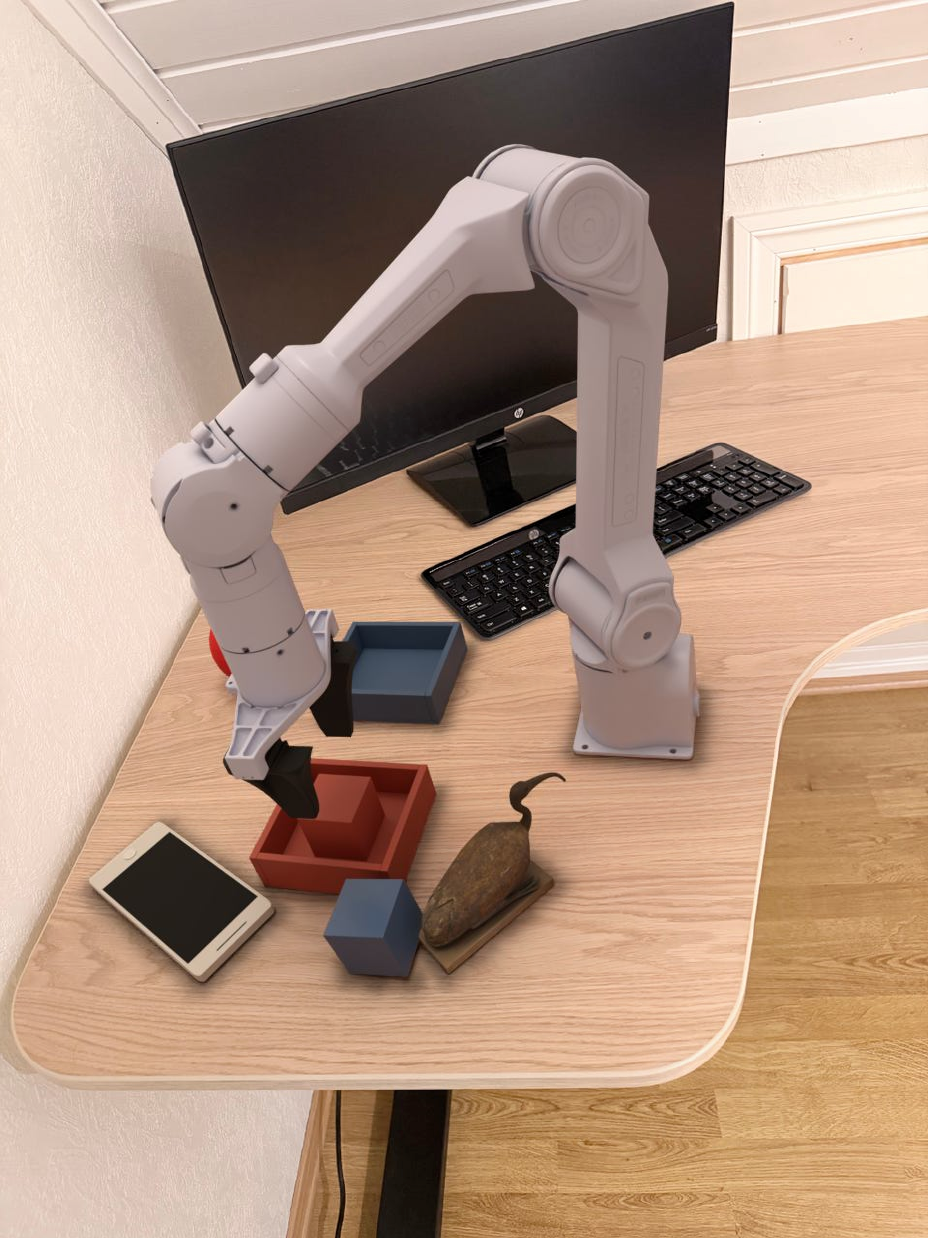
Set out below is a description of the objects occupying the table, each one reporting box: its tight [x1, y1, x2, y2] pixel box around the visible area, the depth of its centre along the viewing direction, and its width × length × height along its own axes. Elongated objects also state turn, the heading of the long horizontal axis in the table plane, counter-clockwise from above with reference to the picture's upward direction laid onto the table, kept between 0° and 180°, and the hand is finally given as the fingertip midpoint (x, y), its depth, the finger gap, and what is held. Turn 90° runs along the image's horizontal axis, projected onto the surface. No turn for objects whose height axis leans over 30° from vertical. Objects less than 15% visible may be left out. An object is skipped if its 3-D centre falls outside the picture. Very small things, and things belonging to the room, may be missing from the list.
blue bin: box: [342, 621, 469, 725], centre depth 85 cm, size 11×10×4 cm
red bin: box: [248, 757, 437, 895], centre depth 71 cm, size 11×10×4 cm
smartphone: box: [88, 821, 275, 982], centre depth 70 cm, size 7×16×1 cm, turn 50°
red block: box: [297, 774, 385, 861], centre depth 70 cm, size 4×4×4 cm
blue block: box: [322, 879, 424, 978], centre depth 62 cm, size 4×4×4 cm
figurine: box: [419, 771, 567, 975], centre depth 63 cm, size 14×4×9 cm, turn 129°
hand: (323, 772), depth 65 cm, fingers open, 7 cm apart
